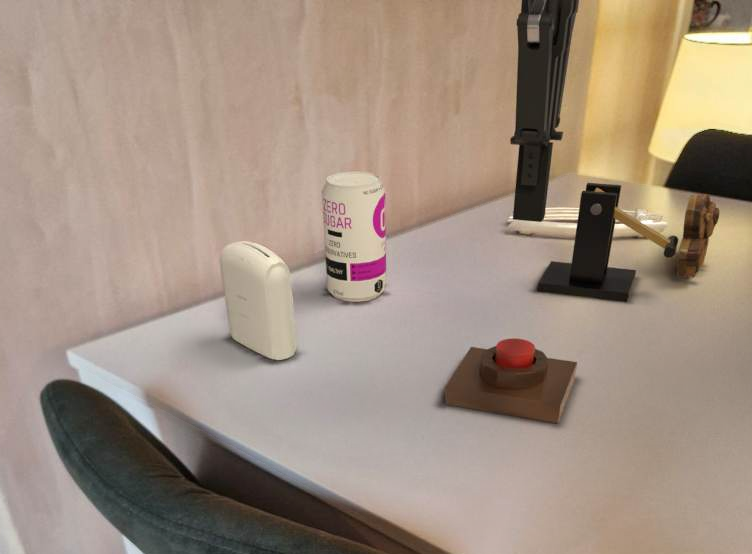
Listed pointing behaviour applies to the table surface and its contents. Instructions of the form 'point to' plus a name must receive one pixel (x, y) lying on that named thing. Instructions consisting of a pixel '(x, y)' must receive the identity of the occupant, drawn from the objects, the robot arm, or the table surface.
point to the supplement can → (355, 235)
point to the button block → (511, 385)
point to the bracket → (592, 252)
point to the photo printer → (259, 299)
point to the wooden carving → (696, 234)
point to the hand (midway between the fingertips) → (528, 218)
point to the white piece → (570, 228)
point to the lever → (647, 231)
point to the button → (514, 353)
